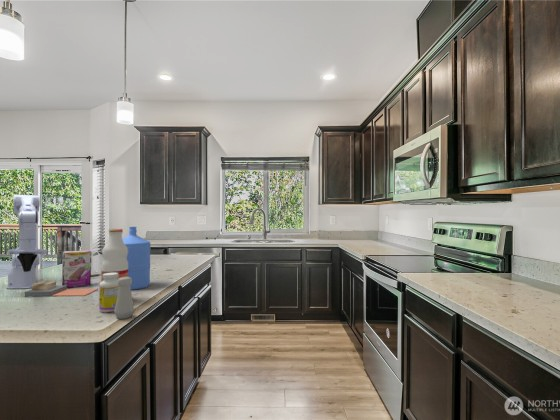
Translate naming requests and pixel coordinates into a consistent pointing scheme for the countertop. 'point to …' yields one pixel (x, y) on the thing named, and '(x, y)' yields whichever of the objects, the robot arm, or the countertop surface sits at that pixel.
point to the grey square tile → (45, 292)
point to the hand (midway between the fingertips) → (27, 271)
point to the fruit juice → (115, 255)
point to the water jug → (138, 259)
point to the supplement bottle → (108, 292)
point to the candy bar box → (76, 268)
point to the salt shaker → (124, 299)
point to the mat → (75, 292)
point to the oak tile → (44, 285)
